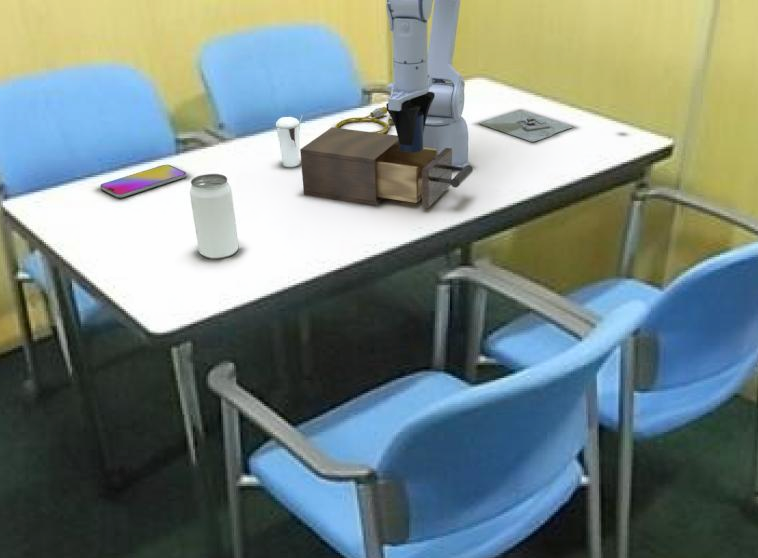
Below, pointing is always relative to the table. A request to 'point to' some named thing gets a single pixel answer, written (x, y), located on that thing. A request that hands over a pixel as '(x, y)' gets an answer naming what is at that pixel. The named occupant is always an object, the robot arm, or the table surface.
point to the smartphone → (143, 180)
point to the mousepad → (526, 125)
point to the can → (214, 216)
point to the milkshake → (289, 140)
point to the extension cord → (375, 113)
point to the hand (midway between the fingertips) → (411, 139)
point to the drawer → (418, 175)
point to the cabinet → (345, 164)
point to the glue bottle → (415, 136)
